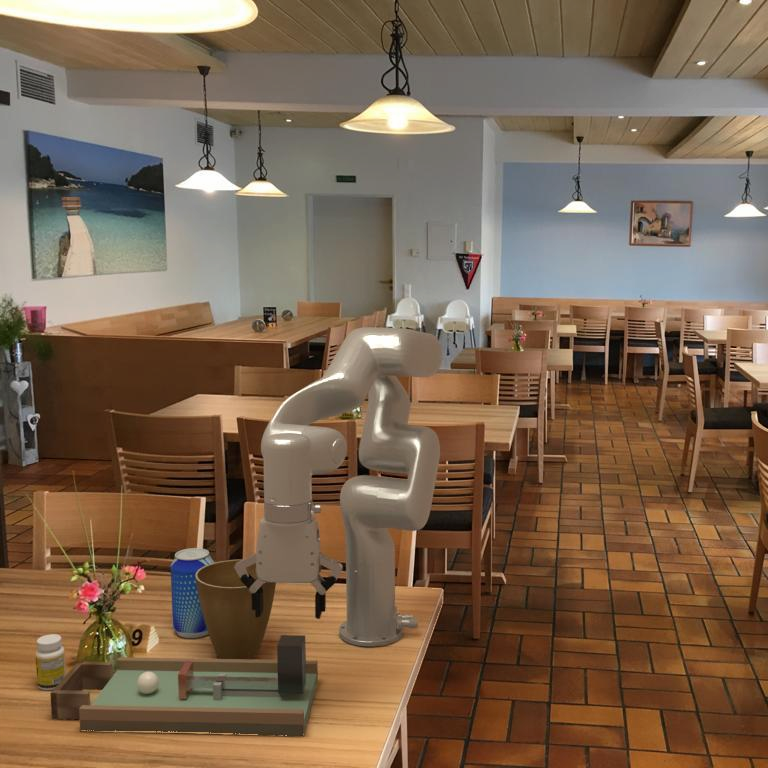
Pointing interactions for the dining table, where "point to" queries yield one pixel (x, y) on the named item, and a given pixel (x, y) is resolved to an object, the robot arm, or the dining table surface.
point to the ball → (147, 682)
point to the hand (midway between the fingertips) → (289, 614)
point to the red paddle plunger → (288, 680)
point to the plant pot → (232, 610)
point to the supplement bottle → (50, 661)
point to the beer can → (188, 592)
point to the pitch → (199, 700)
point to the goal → (78, 688)
